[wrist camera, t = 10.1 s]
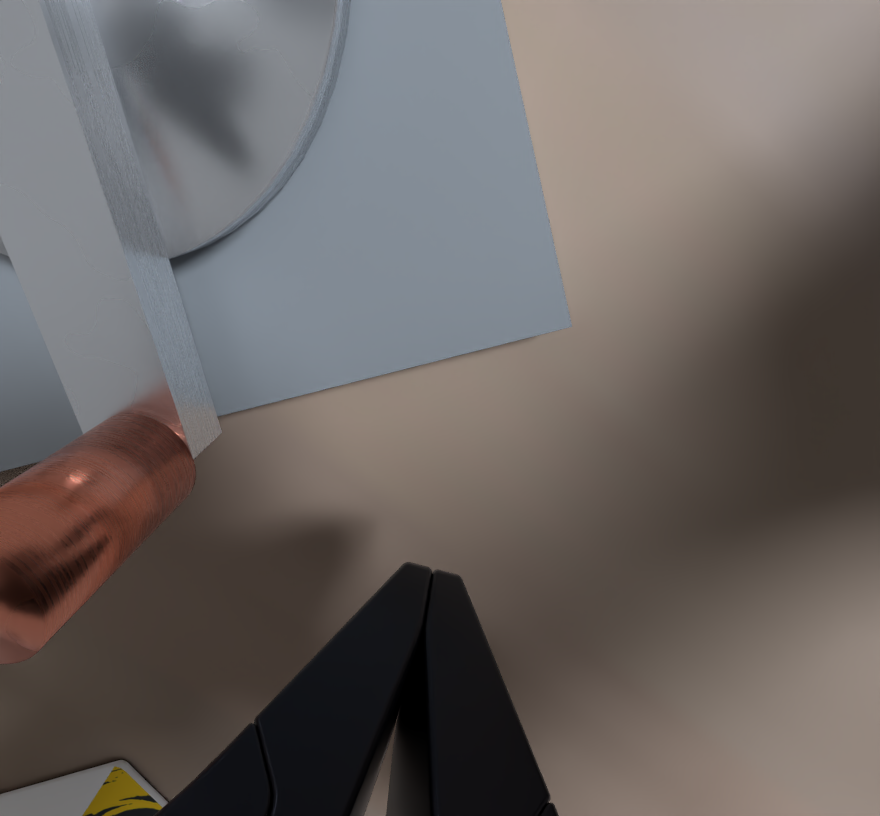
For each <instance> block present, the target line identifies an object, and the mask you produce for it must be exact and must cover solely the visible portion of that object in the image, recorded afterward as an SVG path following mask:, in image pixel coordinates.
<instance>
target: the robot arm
mask: <svg viewBox="0 0 880 816" xmlns="http://www.w3.org/2000/svg"><path fill="white" fill-rule="evenodd" d="M398 712H399V713H398ZM397 716H398V718H397ZM396 719H397V723H396ZM395 723H396V730H395V737H394V745H393V754H392V764H391V774H390V783H389V793H388V802H387V812H386V816H559V815H558V813H557V810H556V808H555V805H554V804H553V803H549V801H550V794H549V791H548V789H547V786H546V784H545V781H544V779H543V777H542V774H541V772H540V769H539V767H538V764H537V762H536V759H535V757H534V754H533V752H532V750H531V747H530V745H529V742H528V740H527V737H526V735H525V732H524V730H523V727H522V725H521V723H520V720H519V718H518V715H517V713H516V710H515V708H514V705H513V703H512V700H511V698H510V696H509V693H508V691H507V688H506V686H505V683H504V681H503V678H502V676H501V673H500V671H499V669H498V666H497V664H496V661H495V659H494V656H493V654H492V651H491V649H490V646H489V644H488V642H487V639H486V637H485V634H484V632H483V629H482V627H481V624H480V622H479V619H478V617H477V614H476V612H475V610H474V607H473V605H472V602H471V600H470V597H469V595H468V592H467V590H466V587H465V585H464V583H463V580H462V578H461V577H460V576H459V575H457V574H453V573H449V572H445V571H441V570H435V571H434V572H433V573H432V570H431V569H430V568H429V567H426V566H422V565H418V564H414V563H411V562H407V563H404V564H403V565H402V566H401V567H400V568H399V569H398V570H397V571H396V572H395V573H394V574H393V575H392V576H391V577H390V578H389V580H388V581H387V582H386V583H385V584H384V585H383V586H382V587H381V588H380V589H379V590H378V591H377V592H376V593H375V594H374V595H373V596H372V597H371V598H370V599H369V600H368V601H367V602H366V603H365V604H364V606H363V607H362V608H361V609H360V610H359V611H358V612H357V613H356V614H355V615H354V616H353V617H352V618H351V619H350V620H349V621H348V622H347V623H346V624H345V625H344V626H343V627H342V628H341V629H340V630H339V631H338V633H337V634H336V635H335V636H334V637H333V638H332V639H331V640H330V641H329V642H328V643H327V644H326V645H325V646H324V647H323V648H322V649H321V650H320V651H319V652H318V653H317V654H316V655H315V656H314V657H313V659H312V660H311V661H310V662H309V663H308V664H307V665H306V666H305V667H304V668H303V669H302V670H301V671H300V672H299V673H298V674H297V675H296V676H295V677H294V678H293V679H292V680H291V681H290V682H289V683H288V685H287V686H286V687H285V688H284V689H283V690H282V691H281V692H280V693H279V694H278V695H277V696H276V697H275V698H274V699H273V700H272V701H271V702H270V703H269V704H268V705H267V706H266V707H265V708H264V709H263V711H262V712H261V713H260V714H259V715H258V716H257V717H256V718H255V720H254V724H253V723H251V724H249V725H248V726H247V727H246V728H245V729H244V730H243V731H242V732H241V733H240V734H239V735H238V736H237V737H236V738H235V739H234V740H233V741H232V742H231V743H230V744H229V745H228V746H227V747H226V749H224V750H223V751H222V752H221V753H220V754H219V755H218V756H217V757H216V758H215V759H214V760H213V761H212V762H211V763H210V764H209V765H208V766H207V767H206V768H205V769H204V770H203V771H202V772H201V773H200V774H199V775H198V776H197V777H196V778H195V779H194V780H193V781H192V782H191V783H190V784H189V785H188V786H187V787H186V788H184V789H183V790H182V791H181V792H180V793H179V794H178V795H176V796H175V797H174V798H173V799H172V800H171V801H170V802H169V803H167V804H166V805H165V806H164V807H163V808H162V809H161V810H159V811H158V812H157V813H156V814H155V815H154V816H364V814H365V811H366V808H367V805H368V802H369V800H370V797H371V794H372V791H373V788H374V785H375V782H376V779H377V777H378V774H379V771H380V768H381V765H382V762H383V759H384V756H385V754H386V751H387V748H388V745H389V742H390V739H391V735H392V732H393V729H394V726H395Z"/></svg>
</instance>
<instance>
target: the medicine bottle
mask: <svg viewBox="0 0 880 816" xmlns="http://www.w3.org/2000/svg"><path fill="white" fill-rule="evenodd" d="M167 803H168V802H167V801H166V800H165V799H164V798H163V797H162V796H161V795H160V794H159V793H158V792H157V791H156V790H155V789H154V788H153V787H152V786H151V785H150V784H149V783H148V782H147V781H146V780H145V779H144V778H143V777H142V776H141V775H140V774H139V773H138V772H137V771H136V770H135V769H134V768H133V767H132V766H131V765H130V764H129V763H128V762H126V761H124V760H118V761H115V762H111V763H108V764H104V765H101V766H97V767H94V768H90V769H87V770H83V771H80V772H76V773H73V774H69V775H66V776H62V777H59V778H55V779H52V780H48V781H45V782H41V783H38V784H34V785H31V786H27V787H24V788H20V789H17V790H13V791H10V792H6V793H3V794H0V816H154V815H155V814H156V813H157V812H158V811H159V810H161V809H162V808H163V807H164V806H165V805H166V804H167Z"/></svg>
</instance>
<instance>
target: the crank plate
mask: <svg viewBox="0 0 880 816" xmlns="http://www.w3.org/2000/svg"><path fill="white" fill-rule="evenodd" d="M169 262H170V265H171V268H172V271H173V275H174V278H175V281H176V284H177V288H178V291H179V294H180V297H181V301H182V304H183V307H184V310H185V314H186V317H187V320H188V323H189V327H190V330H191V333H192V336H193V340H194V343H195V346H196V349H197V353H198V356H199V359H200V362H201V366H202V369H203V372H204V376H205V379H206V382H207V385H208V389H209V392H210V395H211V398H212V402H213V405H214V408H215V411H216V415H217V417H218V416H222V415H226V414H230V413H234V412H237V411H241V410H245V409H249V408H253V407H257V406H261V405H265V404H269V403H273V402H277V401H281V400H285V399H289V398H293V397H297V396H301V395H304V394H308V393H312V392H316V391H320V390H324V389H328V388H332V387H336V386H340V385H344V384H348V383H352V382H356V381H360V380H364V379H368V378H372V377H375V376H379V375H383V374H387V373H391V372H395V371H399V370H403V369H407V368H411V367H415V366H419V365H423V364H427V363H431V362H435V361H439V360H442V359H446V358H450V357H454V356H458V355H462V354H466V353H470V352H474V351H478V350H482V349H486V348H490V347H494V346H498V345H502V344H506V343H509V342H513V341H517V340H521V339H525V338H529V337H533V336H537V335H541V334H545V333H549V332H553V331H557V330H561V329H565V328H569V327H572V324H571V320H570V315H569V310H568V306H567V301H566V297H565V292H564V288H563V283H562V278H561V274H560V269H559V265H558V260H557V256H556V251H555V246H554V242H553V237H552V233H551V228H550V224H549V219H548V214H547V210H546V205H545V201H544V196H543V191H542V187H541V182H540V178H539V173H538V169H537V164H536V159H535V155H534V150H533V146H532V141H531V137H530V132H529V127H528V123H527V118H526V114H525V109H524V105H523V100H522V95H521V91H520V86H519V82H518V77H517V73H516V68H515V63H514V59H513V54H512V50H511V45H510V41H509V36H508V31H507V27H506V22H505V18H504V13H503V9H502V4H501V0H351V5H350V14H349V23H348V32H347V38H346V43H345V47H344V51H343V56H342V60H341V65H340V69H339V73H338V78H337V82H336V84H335V87H334V90H333V93H332V96H331V98H330V101H329V104H328V107H327V110H326V112H325V115H324V118H323V121H322V123H321V125H320V127H319V129H318V131H317V133H316V135H315V137H314V139H313V140H312V142H311V144H310V146H309V148H308V150H307V152H306V154H305V156H304V157H303V159H302V160H301V162H300V163H299V165H298V166H297V168H296V169H295V170H294V172H293V173H292V175H291V176H290V178H289V179H288V181H287V182H286V183H285V185H284V186H283V187H282V188H281V189H280V190H279V191H278V193H277V194H276V195H275V196H274V197H273V198H272V199H271V200H270V201H269V202H268V203H267V204H266V205H265V206H264V207H263V209H262V210H261V211H259V212H258V213H257V214H256V215H254V216H253V217H252V218H250V219H249V220H248V221H247V222H245V223H244V224H243V225H242V226H240V227H239V228H238V229H236V230H235V231H233V232H232V233H230V234H228V235H226V236H224V237H223V238H221V239H219V240H217V241H215V242H214V243H212V244H210V245H208V246H206V247H203V248H200V249H198V250H195V251H192V252H189V253H187V254H184V255H181V256H178V257H175V258H171V259H169ZM81 435H83V432H82V430H81V428H80V425H79V423H78V420H77V418H76V416H75V413H74V411H73V408H72V406H71V404H70V401H69V399H68V396H67V394H66V392H65V389H64V387H63V384H62V382H61V380H60V377H59V375H58V372H57V370H56V368H55V365H54V363H53V360H52V358H51V356H50V353H49V351H48V348H47V346H46V344H45V341H44V339H43V336H42V334H41V332H40V329H39V327H38V324H37V322H36V320H35V317H34V315H33V312H32V310H31V308H30V305H29V303H28V300H27V298H26V296H25V293H24V291H23V289H22V286H21V284H20V281H19V279H18V277H17V274H16V272H15V269H14V267H13V265H12V262H11V260H10V257H9V256H7V255H4V254H1V253H0V472H1V471H5V470H9V469H13V468H17V467H21V466H25V465H29V464H32V463H36V462H40V461H42V460H44V459H45V458H47V457H48V456H50V455H52V454H53V453H55V452H56V451H58V450H59V449H61V448H62V447H64V446H66V445H67V444H69V443H70V442H72V441H73V440H75V439H77V438H78V437H80V436H81Z"/></svg>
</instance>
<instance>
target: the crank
mask: <svg viewBox="0 0 880 816" xmlns="http://www.w3.org/2000/svg"><path fill="white" fill-rule="evenodd" d="M350 5H351V0H0V253H1V254H4V255H7V256H9V257H10V260H11V262H12V265H13V267H14V269H15V272H16V274H17V277H18V279H19V281H20V284H21V286H22V289H23V291H24V293H25V296H26V298H27V300H28V303H29V305H30V308H31V310H32V312H33V315H34V317H35V320H36V322H37V324H38V327H39V329H40V332H41V334H42V336H43V339H44V341H45V344H46V346H47V348H48V351H49V353H50V356H51V358H52V360H53V363H54V365H55V368H56V370H57V372H58V375H59V377H60V380H61V382H62V384H63V387H64V389H65V392H66V394H67V396H68V399H69V401H70V404H71V406H72V408H73V411H74V413H75V416H76V418H77V420H78V423H79V425H80V428H81V430H82V432H83V435H81V436H80V437H78V438H77V439H75V440H73V441H72V442H70V443H69V444H67V445H66V446H64V447H62V448H61V449H59V450H58V451H56V452H55V453H53V454H52V455H50V456H48V457H47V458H45V459H44V460H42V461H41V462H39V463H37V464H36V465H34V466H33V467H31V468H30V469H28V470H27V471H25V472H23V473H22V474H20V475H19V476H17V477H16V478H14V479H12V480H11V481H9V482H8V483H6V484H5V485H3V486H2V487H0V664H13V663H18V662H22V661H25V660H27V659H29V658H31V657H32V656H33V655H35V654H36V653H37V652H38V651H39V650H40V649H41V648H42V647H43V646H44V645H45V644H46V643H47V642H48V641H49V640H50V639H51V638H52V637H53V635H54V634H55V633H56V632H57V631H58V630H59V629H60V628H61V627H62V626H63V625H64V624H65V623H66V622H67V621H68V620H69V619H70V618H71V617H72V616H73V615H74V614H75V613H76V612H77V611H78V610H79V608H80V607H81V606H82V605H83V604H84V603H85V602H86V601H87V600H88V599H89V598H90V597H91V596H92V595H93V594H94V593H95V592H96V591H97V590H98V589H99V588H100V587H101V586H102V585H103V584H104V583H105V582H106V580H107V579H108V578H109V577H110V576H111V575H112V574H113V573H114V572H115V571H116V570H117V569H118V568H119V567H120V566H121V565H122V564H123V563H124V562H125V561H126V560H127V559H128V558H129V557H130V556H131V555H132V553H133V552H134V551H135V550H136V549H137V548H138V547H139V546H140V545H141V544H142V543H143V542H144V541H145V540H146V539H147V538H148V537H149V536H150V535H151V534H152V533H153V532H154V531H155V530H156V529H157V528H158V527H159V525H160V524H161V523H162V522H163V521H164V520H165V519H166V518H167V517H168V516H169V515H170V514H171V513H172V512H173V511H174V510H175V509H176V508H177V507H178V506H179V505H180V504H181V503H182V502H183V501H184V500H185V498H186V497H187V496H188V495H189V494H190V492H191V491H192V489H193V486H194V484H195V478H196V470H195V464H194V460H193V459H194V458H195V457H197V456H198V455H199V454H200V453H201V452H202V451H203V450H204V449H205V448H206V447H207V446H208V445H209V444H210V443H211V442H212V441H214V440H215V439H216V438H217V437H218V436H219V435H220V434H221V433H222V431H221V428H220V424H219V421H218V418H217V415H216V411H215V408H214V405H213V402H212V398H211V395H210V392H209V389H208V385H207V382H206V379H205V376H204V372H203V369H202V366H201V362H200V359H199V356H198V353H197V349H196V346H195V343H194V340H193V336H192V333H191V330H190V327H189V323H188V320H187V317H186V314H185V310H184V307H183V304H182V301H181V297H180V294H179V291H178V288H177V284H176V281H175V278H174V275H173V271H172V268H171V265H170V262H169V259H171V258H175V257H178V256H181V255H184V254H187V253H189V252H192V251H195V250H198V249H200V248H203V247H206V246H208V245H210V244H212V243H214V242H215V241H217V240H219V239H221V238H223V237H224V236H226V235H228V234H230V233H232V232H233V231H235V230H236V229H238V228H239V227H240V226H242V225H243V224H244V223H245V222H247V221H248V220H249V219H250V218H252V217H253V216H254V215H256V214H257V213H258V212H259V211H261V210H262V209H263V207H264V206H265V205H266V204H267V203H268V202H269V201H270V200H271V199H272V198H273V197H274V196H275V195H276V194H277V193H278V191H279V190H280V189H281V188H282V187H283V186H284V185H285V183H286V182H287V181H288V179H289V178H290V176H291V175H292V173H293V172H294V170H295V169H296V168H297V166H298V165H299V163H300V162H301V160H302V159H303V157H304V156H305V154H306V152H307V150H308V148H309V146H310V144H311V142H312V140H313V139H314V137H315V135H316V133H317V131H318V129H319V127H320V125H321V123H322V121H323V118H324V115H325V112H326V110H327V107H328V104H329V101H330V98H331V96H332V93H333V90H334V87H335V84H336V82H337V78H338V73H339V69H340V65H341V60H342V56H343V51H344V47H345V43H346V38H347V32H348V23H349V14H350Z"/></svg>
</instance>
